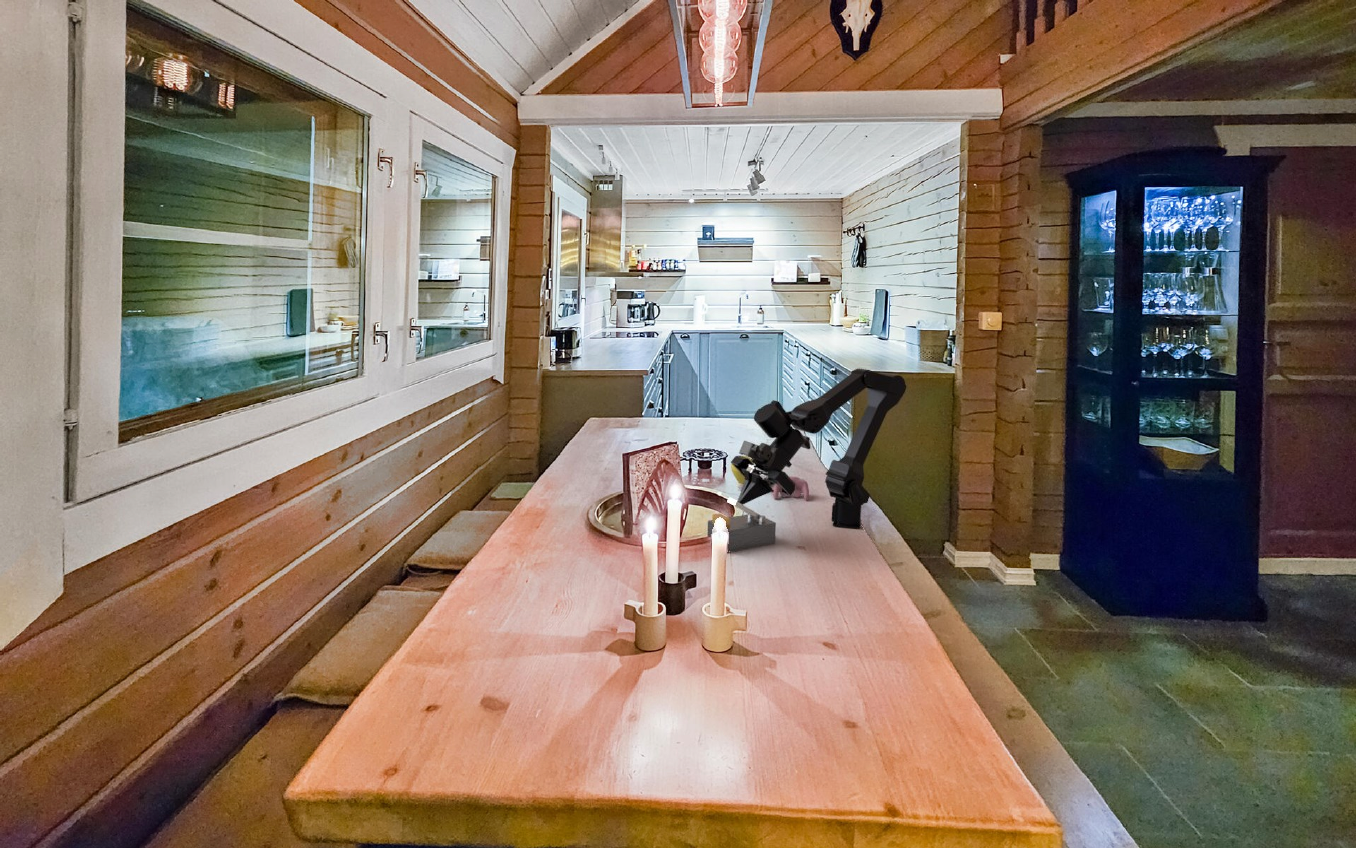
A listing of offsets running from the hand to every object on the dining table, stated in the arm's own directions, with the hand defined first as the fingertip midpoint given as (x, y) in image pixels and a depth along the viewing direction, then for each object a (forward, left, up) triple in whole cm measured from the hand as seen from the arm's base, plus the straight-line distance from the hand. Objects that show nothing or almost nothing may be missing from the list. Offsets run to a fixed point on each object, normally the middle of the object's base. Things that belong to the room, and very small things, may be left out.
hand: (739, 503), depth 165 cm
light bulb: (+8, -45, -10) cm, 46 cm away
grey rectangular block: (-1, -1, -9) cm, 9 cm away
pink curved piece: (-6, -41, -10) cm, 43 cm away
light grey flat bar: (-1, -1, -2) cm, 2 cm away
